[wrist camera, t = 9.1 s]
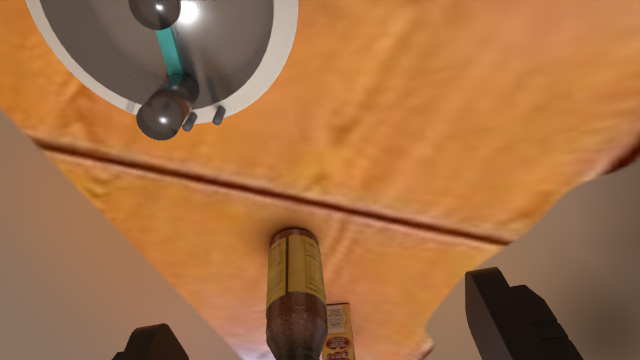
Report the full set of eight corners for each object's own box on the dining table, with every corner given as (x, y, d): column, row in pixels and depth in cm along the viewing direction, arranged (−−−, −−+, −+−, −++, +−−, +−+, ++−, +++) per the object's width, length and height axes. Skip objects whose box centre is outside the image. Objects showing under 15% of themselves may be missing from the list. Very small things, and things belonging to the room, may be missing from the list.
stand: (51, -256, 25) (12, -284, 22) (345, -65, 32) (351, -64, 28) (10, 52, 35) (-21, 65, 32) (240, 151, 42) (235, 171, 38)
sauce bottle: (277, 267, 51) (265, 434, 34) (263, 230, 47) (242, 395, 31) (327, 258, 50) (340, 422, 33) (316, 220, 47) (325, 381, 30)
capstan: (-6, -128, 27) (-111, -148, 20) (253, -155, 27) (237, -184, 20) (95, 114, 37) (48, 157, 30) (287, 96, 37) (284, 134, 30)
